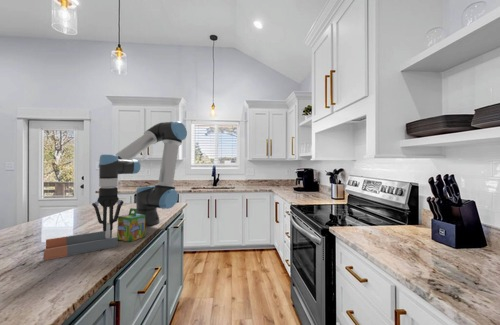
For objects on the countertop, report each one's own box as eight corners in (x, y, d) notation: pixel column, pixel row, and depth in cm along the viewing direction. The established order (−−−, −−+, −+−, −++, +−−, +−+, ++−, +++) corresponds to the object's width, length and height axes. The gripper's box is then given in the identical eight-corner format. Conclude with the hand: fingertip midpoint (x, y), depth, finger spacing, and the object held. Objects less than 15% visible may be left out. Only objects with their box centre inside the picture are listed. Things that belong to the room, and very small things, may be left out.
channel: (111, 237, 119) (111, 229, 119) (117, 246, 106) (117, 237, 106) (45, 248, 103) (46, 239, 103) (44, 260, 91) (44, 249, 91)
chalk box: (116, 240, 115) (117, 209, 115) (132, 234, 124) (132, 206, 124) (130, 242, 112) (130, 211, 112) (145, 237, 120) (146, 208, 120)
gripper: (122, 185, 118) (121, 233, 118) (90, 187, 110) (90, 238, 109) (125, 187, 112) (124, 236, 112) (92, 188, 104) (91, 242, 104)
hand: (107, 237), depth 111 cm, fingers closed
